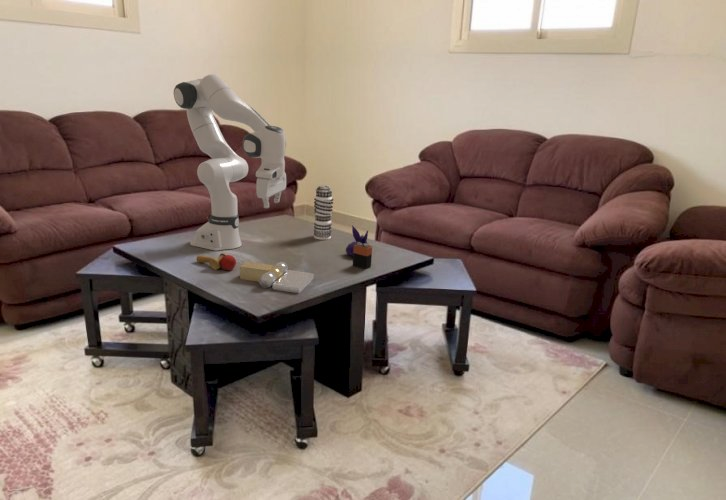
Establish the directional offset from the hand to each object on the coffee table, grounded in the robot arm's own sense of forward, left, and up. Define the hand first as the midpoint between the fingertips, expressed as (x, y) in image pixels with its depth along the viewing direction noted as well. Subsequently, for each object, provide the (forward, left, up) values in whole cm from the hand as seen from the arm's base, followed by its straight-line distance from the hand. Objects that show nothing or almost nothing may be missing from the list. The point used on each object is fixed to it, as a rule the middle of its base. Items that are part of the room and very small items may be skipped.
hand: (271, 205), depth 204 cm
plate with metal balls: (+12, -14, -25) cm, 32 cm away
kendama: (-20, -8, -26) cm, 34 cm away
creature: (+29, +31, -26) cm, 49 cm away
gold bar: (+2, -14, -26) cm, 29 cm away
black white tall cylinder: (+6, +48, -26) cm, 55 cm away
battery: (+34, +15, -26) cm, 45 cm away
